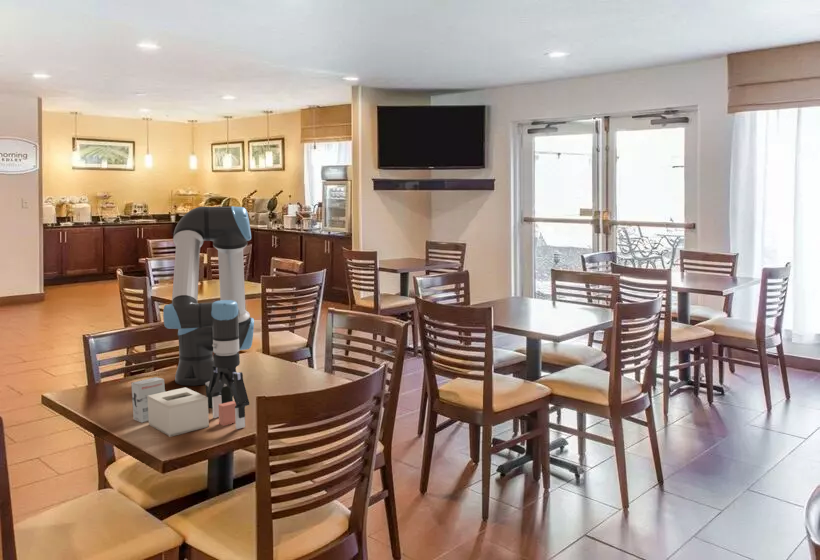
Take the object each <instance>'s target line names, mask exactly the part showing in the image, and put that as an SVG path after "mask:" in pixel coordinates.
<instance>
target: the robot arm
mask: <svg viewBox="0 0 820 560" xmlns="http://www.w3.org/2000/svg"><path fill="white" fill-rule="evenodd" d="M251 240H252V232H251V224H250V219H249V213H248V210H247V209H246V208H245V207H244V206H234V205H232V206H231V205H227V206H226V205H225V206H223V205H222V206H198V207H194V208H192V209H191V210H189V211H187V213H185V214H184V215H183V216H182V217H181V218H180V220H179V221H178V222H177V224H176V226H175V228H174V231H173V237H172V241H173V244H174V245H175V252H174V253H175V255H174V256H175V257H174V267H173V268H174V269H173V282H172V296H171V303H169V304H165V305H163V312H162V317H163V325H164V327H165V329H168V330H169V329H171V330H173V329H174V330H177V337H178V352H179V353H178V354H179V355H178V356H179V357H178V360H179V361H178V363H177V364H178V365H177V368H176V371H175V375H174V377H175V378H174V381H175V383H176V384H177V385H180V386H187V387H189V386H192V387H193V386H194V387H195V386H203V385H206V384H205V383H207V382H208V381H210V382H209V386H208V393H211V396H212V406H213V408H212V418H213V419H216V418H219V404H222V398H221V395H220V394H221V390H222V388H223V386H224V384H226V385H227V387H228V388H230V391H231V393H232V396H233V401H235V403H236V406H235V422H236V423H235V429H236V430H239V429H243V428H246V409H245V408H246V406H250V401H249V396H248V393H247V392H248V391H247V389H246V385H245V381H244V375H243V372H242V371H240V372H237V367H239V366H240V364H241V363H240V362H241V361H240V351H244V350H245V351H246V350H249V349H251V347H252V345H253V340H254V339H253V338H254V328H255V319H254V317H251V314H250V312H249V311H247V309H246V287H245V270H244V269H245V265H244V263H245V261H244V249H245V248H246V247H247V246H248V242H249V241H251ZM205 241H206V242H208V241H211V242H212V247H213V248H215V249H216V250H217V257H218V258H217V260H218V263H217V264H218V276H219V277H218V278H219V295H220V296H219V297H220V300H216V301H214V302H205V303H203V302H201V303H198V298H199V297H198V296H199V276H200V275H199V273H200V258H201V257H200V256H201V255H200V253H201V247H202V246H203V244H204V242H205ZM213 353H214V354H213ZM212 387H213V388H212ZM218 395H219V396H218Z"/></svg>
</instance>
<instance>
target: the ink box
mask: <svg viewBox="0 0 820 560" xmlns="http://www.w3.org/2000/svg"><path fill="white" fill-rule="evenodd" d="M165 388H166V387H165V379H164V378H161V377H156V376H155V377H151V378H147V379H143V380H138V381H134V382H131V397H132V398H131V400H132V401H131V402H132V413H133V417H132V418H133V420H135V421H136V422H139V423H141V424H142V423H146V422H149V418H148V399H147V395H152V394H157V393H161V392H166V389H165Z"/></svg>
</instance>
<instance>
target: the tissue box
mask: <svg viewBox="0 0 820 560" xmlns="http://www.w3.org/2000/svg"><path fill="white" fill-rule="evenodd" d="M147 399H148V418H149V421H148V425H149V426H150V427H152V428H154V429H156V430H157V431H159V432H161V433H162V434H165V436H167V437H169V438H171V437H175V436H179V435H183V434H186V433H191V432H193V431H194V432H195V431H197V430H202V429H205V428H209V427H210V424H209V422H210V419H209V407H208V397H206V395H204V394H202V393H199V392H197V391H196V390H195V391H194V390H192V389H191V388H188V387H181V388H176V389H171V390H168V391H166V390H165V392H161V393H157V394H152V395H147Z"/></svg>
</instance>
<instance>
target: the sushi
mask: <svg viewBox="0 0 820 560" xmlns="http://www.w3.org/2000/svg"><path fill="white" fill-rule="evenodd" d="M209 382H210V381H208V382H207V383H205V384H204V385H205V394H206V395H205V396H206V397H208V408H210V409H213V406H212V396H211V393H208V386H209ZM212 388H213V387H212ZM220 395H221V398H222V404H223V403H227V402H231V401H234V398H233V396H232V393H231V391H230V388H228V387H227V385H226V384H224V386H223V388H222V390H221V394H220ZM218 396H219V395H218Z"/></svg>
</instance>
